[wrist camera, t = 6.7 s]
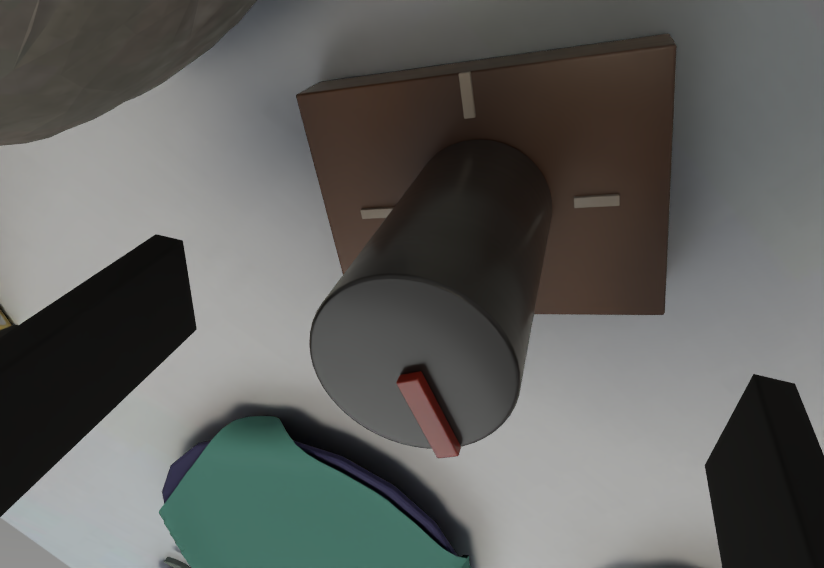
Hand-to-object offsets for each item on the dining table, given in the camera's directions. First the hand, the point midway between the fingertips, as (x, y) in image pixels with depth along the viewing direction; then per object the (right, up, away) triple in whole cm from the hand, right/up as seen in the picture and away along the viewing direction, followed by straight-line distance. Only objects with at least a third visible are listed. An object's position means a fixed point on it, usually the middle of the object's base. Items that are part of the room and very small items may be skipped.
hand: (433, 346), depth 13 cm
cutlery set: (-9, -17, +26) cm, 33 cm away
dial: (+2, +4, +7) cm, 8 cm away
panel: (+2, +5, +8) cm, 10 cm away
